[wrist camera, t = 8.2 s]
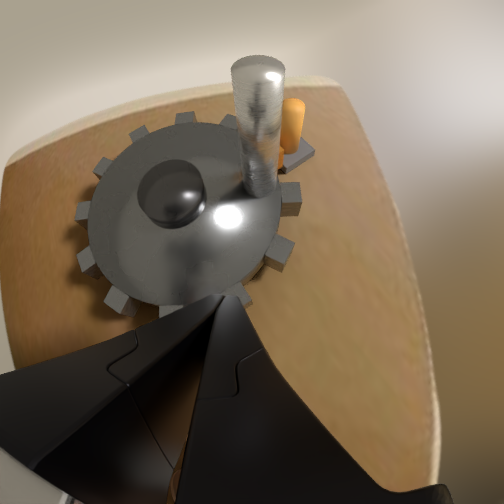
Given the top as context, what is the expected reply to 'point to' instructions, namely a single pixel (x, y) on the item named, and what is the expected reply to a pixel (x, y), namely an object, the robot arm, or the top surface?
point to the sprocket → (194, 202)
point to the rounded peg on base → (293, 135)
